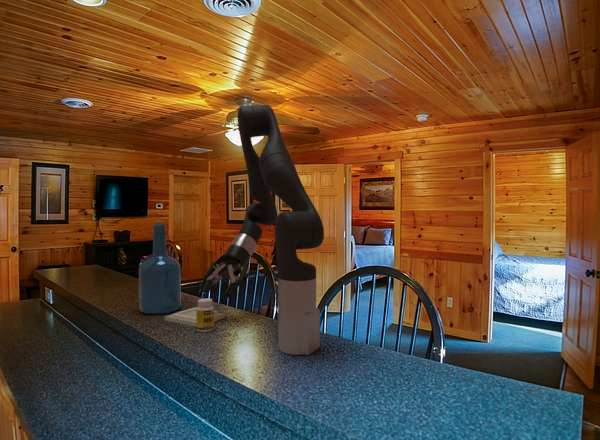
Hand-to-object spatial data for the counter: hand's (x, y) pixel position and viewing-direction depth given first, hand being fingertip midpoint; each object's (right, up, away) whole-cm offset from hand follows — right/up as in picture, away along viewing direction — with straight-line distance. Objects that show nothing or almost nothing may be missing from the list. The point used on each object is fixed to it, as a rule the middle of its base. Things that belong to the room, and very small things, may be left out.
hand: (215, 294), depth 112 cm
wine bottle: (-22, -9, +17) cm, 30 cm away
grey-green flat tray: (-8, -9, +7) cm, 14 cm away
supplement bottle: (-2, -9, -3) cm, 10 cm away
